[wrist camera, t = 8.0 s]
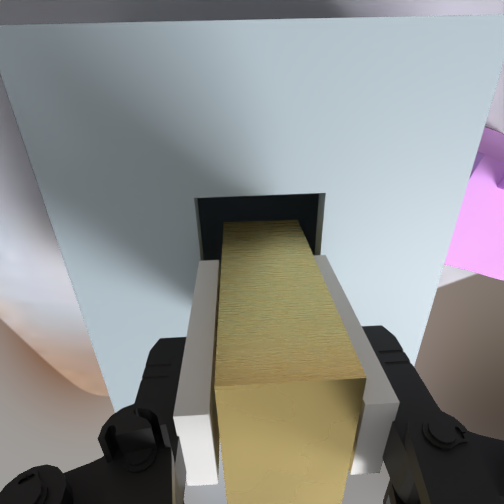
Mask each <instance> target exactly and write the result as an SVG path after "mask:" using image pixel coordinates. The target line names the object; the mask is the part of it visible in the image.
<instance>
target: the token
mask: <svg viewBox="0 0 504 504" xmlns="http://www.w3.org/2000/svg"><path fill="white" fill-rule="evenodd" d="M366 380H367V377H366V375H365V372H364V370H363V368H362V366H361V363H360V361H359V359H358V356H357V354H356V352H355V350H354V347H353V345H352V343H351V340H350V338H349V336H348V334H347V331H346V329H345V327H344V324H343V322H342V320H341V318H340V315H339V313H338V311H337V308H336V306H335V304H334V301H333V299H332V297H331V295H330V292H329V290H328V288H327V285H326V283H325V281H324V279H323V276H322V274H321V272H320V269H319V267H318V265H317V263H316V260H315V258H314V256H313V253H312V251H311V249H310V247H309V244H308V242H307V240H306V237H305V235H304V233H303V231H302V228H301V226H300V224H299V221H298V219H295V220H271V221H247V222H224V226H223V243H222V260H221V278H220V295H219V313H218V330H217V348H216V365H215V382H214V389H215V398H216V407H217V416H218V425H219V434H220V442H221V452H222V461H223V470H224V479H225V488H226V496H227V504H342V499H343V494H344V489H345V484H346V479H347V474H348V469H349V464H350V459H351V454H352V449H353V444H354V439H355V435H356V430H357V425H358V420H359V415H360V410H361V405H362V400H363V395H364V390H365V385H366Z"/></svg>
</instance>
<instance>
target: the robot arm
mask: <svg viewBox="0 0 504 504" xmlns="http://www.w3.org/2000/svg"><path fill="white" fill-rule="evenodd" d="M314 258H315V260H316V263H317V265H318V267H319V269H320V272H321V274H322V276H323V279H324V281H325V283H326V285H327V288H328V290H329V292H330V295H331V297H332V299H333V301H334V304H335V306H336V308H337V311H338V313H339V315H340V318H341V320H342V322H343V324H344V327H345V329H346V331H347V334H348V336H349V338H350V340H351V343H352V345H353V347H354V350H355V352H356V354H357V356H358V359H359V361H360V363H361V366H362V368H363V370H364V372H365V375H366V377H367V380H366V385H365V390H364V395H363V400H362V405H361V410H360V415H359V420H358V425H357V430H356V435H355V439H354V444H353V449H352V454H351V459H350V464H349V471H350V475H352V474H367V473H380V470H381V466H382V463H383V461H384V463H385V465H386V468H387V471H388V473H389V476H390V481H389V484H388V487H387V490H386V493H385V496H384V499H383V504H504V441H502V440H498V439H494V438H489V437H486V436H481V435H478V434H475V433H472V432H469V431H467V429H466V428H465V427H464V426H463V425H462V424H461V423H460V422H459V421H458V420H456V419H455V418H454V417H452V416H450V415H448V414H446V413H445V412H442V411H441V410H440V408H439V407H438V406H437V404H436V403H435V401H434V399H433V397H432V396H431V394H430V393H429V391H428V389H427V388H426V386H425V384H424V383H423V381H422V379H421V378H420V376H419V374H418V373H417V371H416V370H415V368H414V366H413V365H412V364H411V363H410V360H409V358H408V356H407V355H406V353H405V352H403V348H402V347H401V345H400V343H399V342H398V340H397V338H396V337H395V336H394V335H393V334H392V333H391V332H389V331H388V330H387V329H386V328H385V327H383V326H382V325H376V326H361V324H360V322H359V320H358V318H357V316H356V314H355V312H354V310H353V308H352V306H351V304H350V302H349V300H348V298H347V296H346V294H345V292H344V290H343V289H342V287H341V285H340V283H339V281H338V279H337V277H336V275H335V273H334V271H333V269H332V267H331V265H330V263H329V261H328V259H327V257H326V255H316V256H314ZM219 295H220V266H219V260H207V261H199V265H198V271H197V277H196V283H195V289H194V295H193V301H192V307H191V313H190V319H189V325H188V331H187V336H186V337H173V338H160V339H159V340H158V341H157V342H156V344H155V345H154V346H153V347H152V349H151V350H150V351H149V355H148V358H147V362H146V365H145V366H146V367H145V368H144V372H143V375H142V380H141V382H140V386H139V389H138V393H137V396H136V400H135V403H134V404H132V405H129V406H126V407H124V408H122V409H120V410H119V411H117V412H116V413H115V414H113V415H112V416H111V417H110V418H109V419H108V420H107V422H106V423H105V424H104V425H103V427H102V429H101V432H100V435H99V437H98V441H99V443H100V446H101V448H102V451H103V453H104V456H103V457H102V458H100V459H98V460H96V461H94V462H91V463H89V464H86V465H84V466H81V467H78V468H76V469H73V470H71V471H68V472H65V473H62V472H61V470H60V469H59V468H58V467H55V466H51V465H42V466H37V467H33V468H31V469H29V470H27V471H25V472H23V473H21V474H19V475H18V476H17V477H16V478H14V479H13V480H12V481H11V482H9V483H8V484H7V485H6V486H5V487H4V488H3V490H2V491H1V492H0V504H184V500H183V499H184V490H185V481H186V480H187V485H188V486H196V485H210V484H218V468H219V438H220V434H219V425H218V416H217V407H216V398H215V389H214V382H215V365H216V348H217V330H218V313H219Z"/></svg>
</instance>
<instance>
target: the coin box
mask: <svg viewBox="0 0 504 504" xmlns="http://www.w3.org/2000/svg"><path fill="white" fill-rule="evenodd" d="M503 62H504V14H497V15H449V16H402V17H354V18H306V19H259V20H211V21H163V22H116V23H68V24H20V25H0V74H1V77H2V80H3V83H4V86H5V89H6V92H7V95H8V98H9V101H10V104H11V107H12V110H13V113H14V116H15V118H16V121H17V124H18V127H19V130H20V133H21V136H22V139H23V142H24V145H25V148H26V151H27V154H28V157H29V160H30V163H31V166H32V169H33V172H34V175H35V177H36V180H37V183H38V186H39V189H40V192H41V195H42V198H43V201H44V204H45V207H46V210H47V213H48V216H49V219H50V222H51V225H52V228H53V231H54V233H55V236H56V239H57V242H58V245H59V248H60V251H61V254H62V257H63V260H64V263H65V266H66V269H67V272H68V275H69V278H70V281H71V284H72V287H73V290H74V292H75V295H76V298H77V301H78V304H79V307H80V310H81V313H82V316H83V319H84V322H85V325H86V328H87V331H88V334H89V337H90V340H91V343H92V346H93V348H94V351H95V354H96V357H97V360H98V363H99V366H100V369H101V372H102V375H103V378H104V381H105V384H106V387H107V390H108V393H109V396H110V399H111V401H112V404H113V407H114V410H115V413H116V412H117V411H119V410H120V409H122V408H124V407H126V406H129V405H132V404H134V403H135V400H136V396H137V393H138V389H139V386H140V382H141V380H142V375H143V372H144V368H145V367H146V366H145V365H146V362H147V358H148V355H149V351H150V350H151V349H152V347H153V346H154V345H155V344H156V342H157V341H158V340H159V339H160V338H173V337H186V336H187V331H188V325H189V319H190V313H191V307H192V301H193V295H194V289H195V283H196V277H197V271H198V265H199V261H207V260H219V266H220V278H221V260H222V243H223V226H224V222H247V221H271V220H295V219H298V221H299V224H300V226H301V228H302V231H303V233H304V235H305V237H306V240H307V242H308V244H309V247H310V249H311V251H312V253H313V256H316V255H326V257H327V259H328V261H329V263H330V265H331V267H332V269H333V271H334V273H335V275H336V277H337V279H338V281H339V283H340V285H341V287H342V289H343V290H344V292H345V294H346V296H347V298H348V300H349V302H350V304H351V306H352V308H353V310H354V312H355V314H356V316H357V318H358V320H359V322H360V324H361V326H376V325H382V326H383V327H385V328H386V329H387V330H388V331H389V332H391V333H392V334H393V335H394V336H395V337H396V338H397V340H398V342H399V343H400V345H401V347H402V348H403V352H405V353H406V355H407V356H408V358H409V360H410V363H411V364H412V365H413V366H414V365H415V361H416V358H417V355H418V351H419V348H420V344H421V341H422V338H423V334H424V331H425V327H426V324H427V320H428V317H429V313H430V310H431V307H432V304H433V300H434V297H435V293H436V290H437V287H438V283H439V280H440V276H441V273H442V270H443V266H444V263H445V259H446V256H447V253H448V249H449V246H450V242H451V239H452V236H453V232H454V229H455V226H456V222H457V219H458V215H459V212H460V209H461V205H462V202H463V198H464V195H465V192H466V188H467V185H468V181H469V178H470V175H471V171H472V168H473V164H474V161H475V158H476V154H477V151H478V147H479V144H480V141H481V137H482V134H483V130H484V127H485V124H486V120H487V117H488V113H489V110H490V107H491V103H492V100H493V96H494V93H495V90H496V86H497V83H498V79H499V76H500V73H501V69H502V66H503Z"/></svg>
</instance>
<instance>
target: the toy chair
mask: <svg viewBox="0 0 504 504" xmlns="http://www.w3.org/2000/svg"><path fill="white" fill-rule="evenodd" d="M444 265H448V266H453V267H457V268H461V269H464V270H468V271H472V272H475V273H479V274H482V275H485V276H489V277H492V278H496V279H500V280H504V134H503V133H500V132H498V131H495V130H492V129H489V128H487V127H484V130H483V134H482V137H481V141H480V144H479V147H478V151H477V154H476V158H475V161H474V164H473V168H472V171H471V175H470V178H469V181H468V185H467V188H466V192H465V195H464V198H463V202H462V205H461V209H460V212H459V215H458V219H457V222H456V226H455V229H454V232H453V236H452V239H451V242H450V246H449V249H448V253H447V256H446V259H445V263H444Z"/></svg>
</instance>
